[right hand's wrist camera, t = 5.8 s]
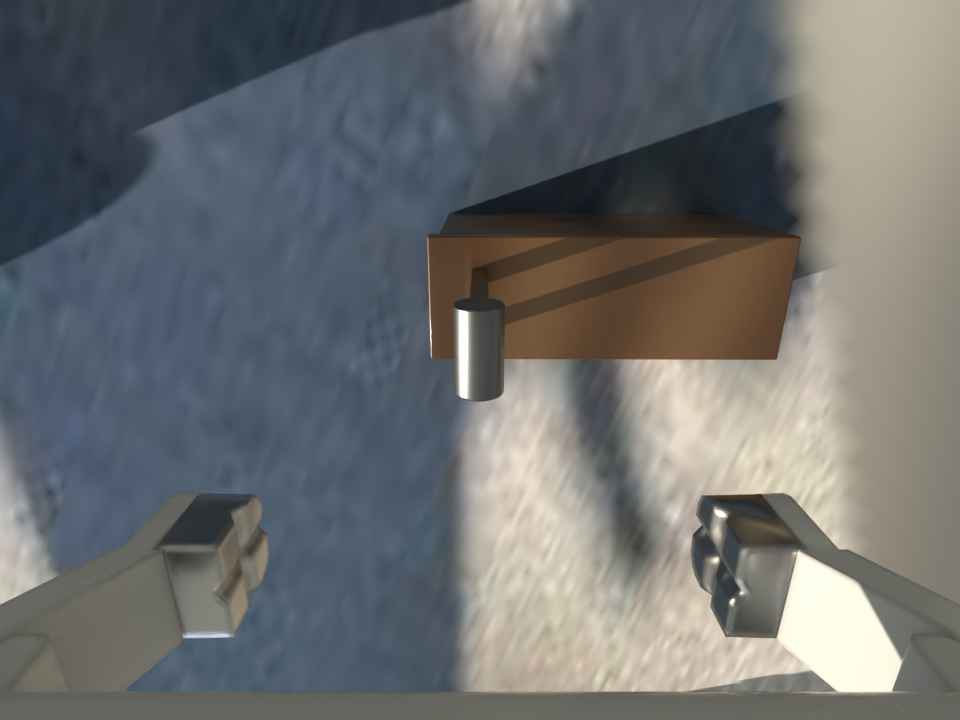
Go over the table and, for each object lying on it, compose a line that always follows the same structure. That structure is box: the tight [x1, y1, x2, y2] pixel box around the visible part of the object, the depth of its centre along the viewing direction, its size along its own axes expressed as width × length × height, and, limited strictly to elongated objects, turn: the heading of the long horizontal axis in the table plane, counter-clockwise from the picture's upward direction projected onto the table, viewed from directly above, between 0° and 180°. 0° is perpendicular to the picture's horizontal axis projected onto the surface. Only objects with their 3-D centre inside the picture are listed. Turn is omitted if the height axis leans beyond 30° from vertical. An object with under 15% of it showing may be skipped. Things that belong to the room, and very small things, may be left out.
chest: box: [439, 213, 790, 235], centre depth 31 cm, size 16×6×8 cm, turn 90°
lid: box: [427, 234, 801, 401], centre depth 23 cm, size 17×6×8 cm, turn 90°
